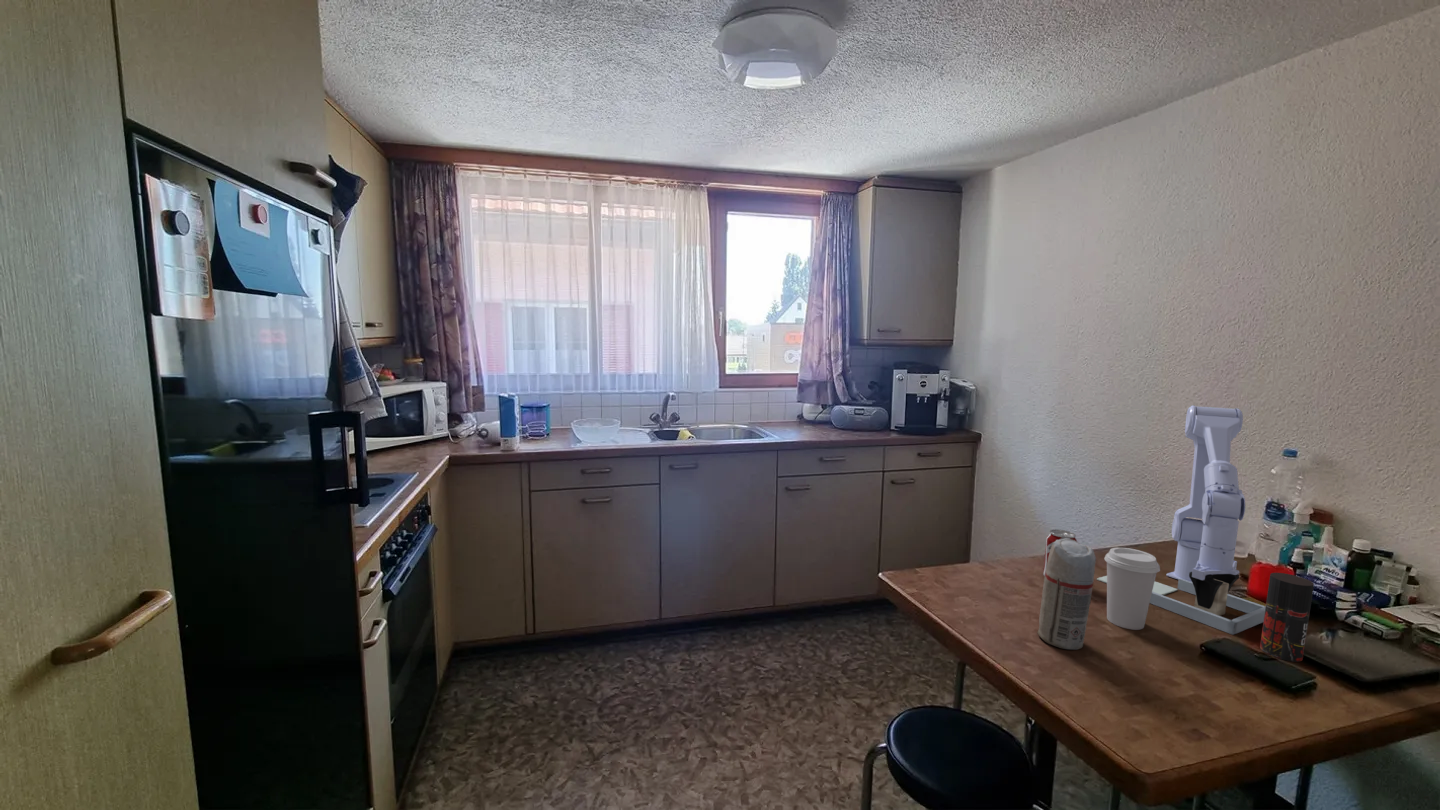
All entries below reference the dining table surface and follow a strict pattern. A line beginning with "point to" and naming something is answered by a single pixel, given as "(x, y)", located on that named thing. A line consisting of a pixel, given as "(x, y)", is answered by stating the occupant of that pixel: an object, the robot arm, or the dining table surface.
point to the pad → (1157, 587)
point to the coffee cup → (1129, 586)
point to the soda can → (1052, 538)
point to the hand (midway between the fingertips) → (1210, 604)
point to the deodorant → (1286, 616)
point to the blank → (1217, 601)
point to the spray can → (1066, 594)
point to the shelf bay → (1210, 619)
